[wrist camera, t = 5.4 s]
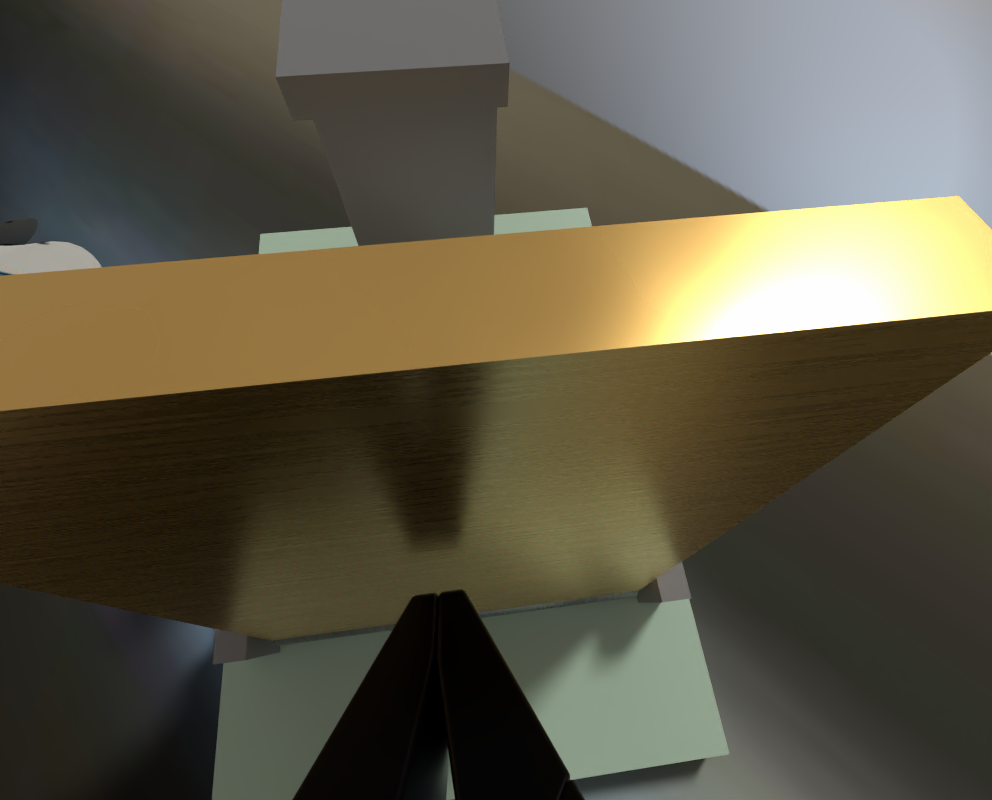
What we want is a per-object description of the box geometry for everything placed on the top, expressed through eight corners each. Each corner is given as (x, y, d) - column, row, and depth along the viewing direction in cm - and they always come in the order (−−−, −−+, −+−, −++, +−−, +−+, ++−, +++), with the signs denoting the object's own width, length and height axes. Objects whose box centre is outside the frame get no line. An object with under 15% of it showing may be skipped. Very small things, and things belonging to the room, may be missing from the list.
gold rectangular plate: (629, 600, 14) (1074, 313, 3) (286, 647, 14) (-569, 482, 3) (618, 552, 15) (950, 188, 4) (291, 595, 14) (-370, 296, 3)
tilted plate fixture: (713, 744, 14) (1160, 1019, 5) (227, 822, 13) (-399, 1353, 4) (582, 224, 22) (655, -60, 13) (270, 250, 21) (96, -36, 12)
